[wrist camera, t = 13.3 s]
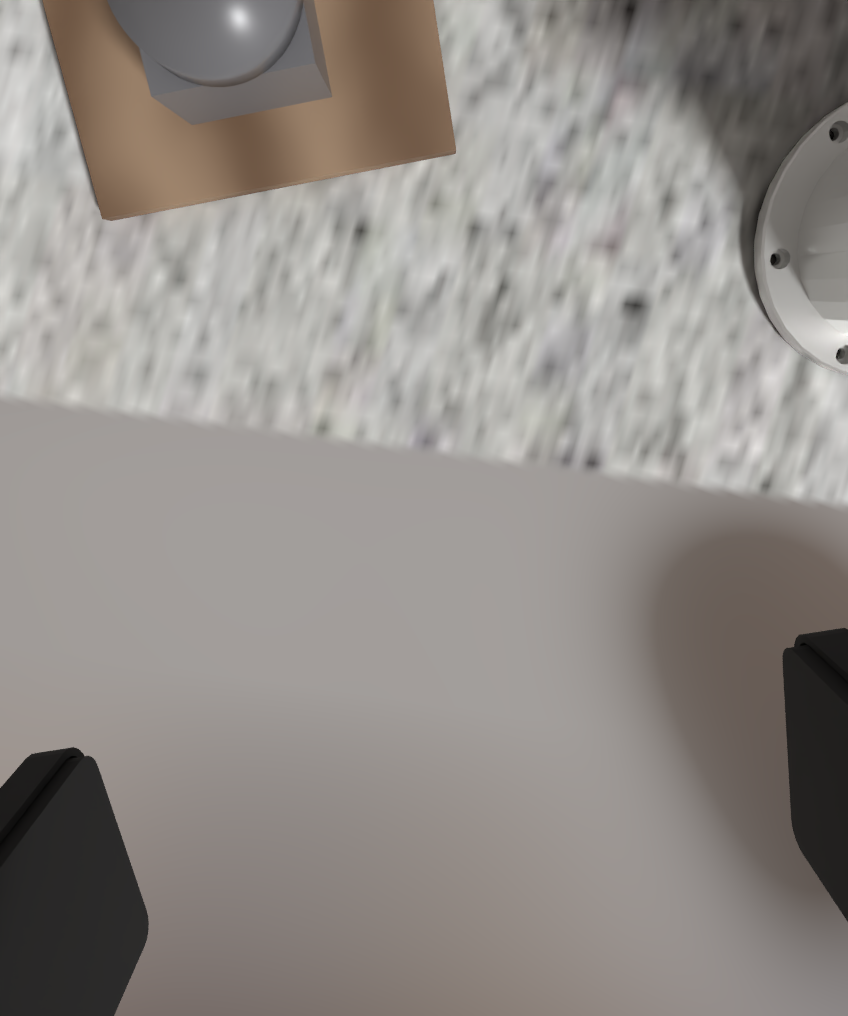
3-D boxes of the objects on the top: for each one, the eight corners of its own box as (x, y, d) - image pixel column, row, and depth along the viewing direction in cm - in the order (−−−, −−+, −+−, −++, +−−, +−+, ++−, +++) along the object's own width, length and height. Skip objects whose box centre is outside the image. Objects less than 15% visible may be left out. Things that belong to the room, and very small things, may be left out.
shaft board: (406, -164, 31) (401, -259, 26) (455, 153, 34) (459, 128, 29) (29, -82, 32) (-52, -156, 26) (111, 220, 35) (54, 208, 30)
